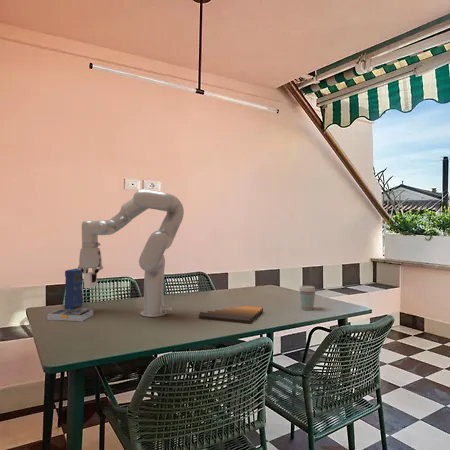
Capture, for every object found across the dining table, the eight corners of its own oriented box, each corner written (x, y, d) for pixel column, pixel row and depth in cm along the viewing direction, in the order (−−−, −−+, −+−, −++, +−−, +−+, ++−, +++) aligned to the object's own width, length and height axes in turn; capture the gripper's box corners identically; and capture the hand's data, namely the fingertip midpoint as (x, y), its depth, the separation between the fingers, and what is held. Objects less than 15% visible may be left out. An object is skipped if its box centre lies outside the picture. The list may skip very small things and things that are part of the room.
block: (97, 285, 194) (96, 271, 194) (89, 288, 186) (89, 273, 186) (91, 285, 195) (91, 271, 195) (84, 288, 187) (83, 274, 187)
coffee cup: (317, 308, 205) (317, 286, 205) (313, 311, 198) (313, 288, 198) (301, 306, 209) (301, 285, 209) (297, 309, 201) (297, 287, 201)
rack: (93, 315, 183) (93, 308, 183) (81, 321, 172) (81, 313, 172) (60, 314, 185) (60, 306, 185) (46, 319, 174) (47, 312, 174)
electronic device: (72, 309, 196) (73, 270, 196) (63, 308, 197) (64, 270, 197) (83, 305, 205) (83, 268, 205) (74, 305, 206) (75, 268, 206)
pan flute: (198, 319, 180) (249, 325, 172) (198, 312, 180) (249, 317, 171) (217, 309, 203) (263, 313, 195) (217, 302, 203) (263, 306, 195)
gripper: (108, 244, 193) (109, 281, 193) (78, 245, 195) (78, 281, 195) (102, 245, 186) (102, 283, 186) (70, 246, 188) (71, 283, 188)
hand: (90, 281), depth 190 cm, fingers closed on block, 2 cm apart
